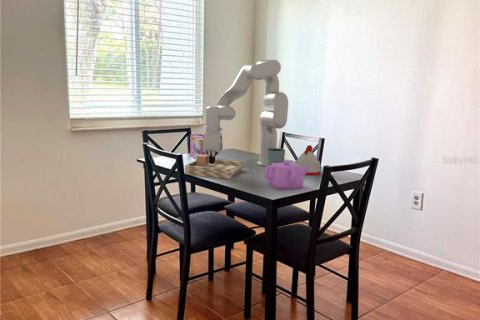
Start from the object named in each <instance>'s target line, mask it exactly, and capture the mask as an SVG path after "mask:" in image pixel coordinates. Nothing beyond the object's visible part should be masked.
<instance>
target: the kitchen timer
mask: <svg viewBox="0 0 480 320" xmlns="http://www.w3.org/2000/svg"><path fill="white" fill-rule="evenodd" d="M312 151H313V147H312V145H306V148H305V150H304V152H302V153H301V154H300V155H299V157H298V158H297V159H295V162H294V163H295V164H298V165H300V166H301V167H302V169H303V168H304V167H305V166H307V167H309V169H308V171H307V172H306V174H305V176H309V177H310V176H318V175H319V176H320V174H321V161H320V160H319V159H318V158H317V156H316V155H315V154H314V152H312Z"/></svg>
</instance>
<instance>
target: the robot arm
mask: <svg viewBox="0 0 480 320" xmlns="http://www.w3.org/2000/svg"><path fill="white" fill-rule="evenodd" d="M281 68H282V67H281V63H280V62H279V60H276V59H260V60H258V61H257V62H256V63H253V64H252V63H251V64H250V63H247V64H245V65H243V66H242V67H241V69H240V70H239V73H238V74H237V76H236V78H235V80H234V81H233V83H232V85H231V86H230V87H229V88H228V89H227V90H226V91H225V92H224V93H223V94H222V95H221V96H220V97H219V98H218V100H217V101H216V104H215V105H209V106H207V107H206V108H205V131H204V133H203V135H204V137H203V152H205V153H207V154H208V156H209V162H210V164H214V162H215V160H216V156H217V155H220V154H223V147H224V146H223V145H224V143H223V134H222V132H221V131H223V128H221V120H222V121H231V120H234V118H235V117H236V115H237V114H236V110H235V108H234V107H233V106H231V104H232V103H233V102H234V101H236V100H237V99H240V98H242V97H244V96H245V95H246V94H247V91H248V90H249V89H250V86H251V84H252V83H253V81H261V80H263V101H262V102H263V105H264V106H265V107H266V108H269V109H267V110H264V111H262V112H261V114H260V116H259V126H260V143H259V146H260V147H259V160H258V161H256V165H258V166H263V167H265V166H267V149H269V148H278V147H277V143H278V132H277V131H278V130H277V129H282V128H284V127H285V126H286V124H287V121H288V115H289V114H288V113H289V112H288V111H289V98H288V96H287V94H286V93H284V92H283V91H280V81H279V77H278V74H279V73H280V72H281ZM270 109H273V110H270ZM212 151H213V154H212Z"/></svg>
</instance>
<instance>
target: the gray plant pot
mask: <svg viewBox="0 0 480 320" xmlns="http://www.w3.org/2000/svg"><path fill="white" fill-rule="evenodd" d="M285 155H286V149H285V148H280V147H279V148H278V147H276V148H269V149H267V166H271V164H272V163H284V162H283V161H284V160H285Z"/></svg>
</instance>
